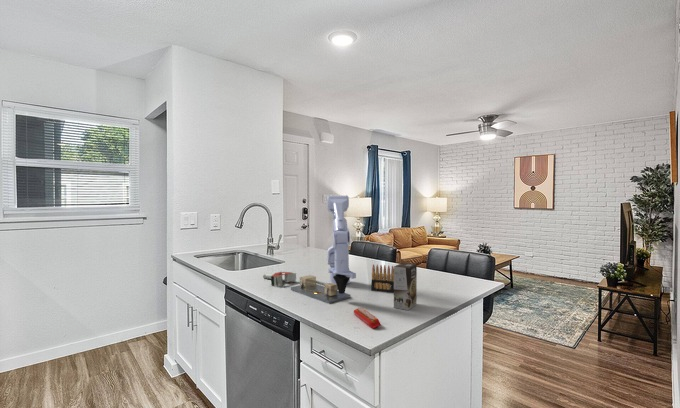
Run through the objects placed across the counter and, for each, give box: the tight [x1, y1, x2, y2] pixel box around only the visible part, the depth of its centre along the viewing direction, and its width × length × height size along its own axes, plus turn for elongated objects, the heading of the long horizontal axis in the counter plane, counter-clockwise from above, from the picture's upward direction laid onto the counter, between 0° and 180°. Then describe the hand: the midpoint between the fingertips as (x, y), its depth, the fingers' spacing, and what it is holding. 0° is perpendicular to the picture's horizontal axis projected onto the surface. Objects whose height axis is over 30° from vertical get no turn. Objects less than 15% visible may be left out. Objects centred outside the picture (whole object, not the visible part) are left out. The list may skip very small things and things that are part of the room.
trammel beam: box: [299, 274, 338, 291], centre depth 149 cm, size 7×24×4 cm, turn 42°
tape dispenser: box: [262, 271, 297, 288], centre depth 169 cm, size 18×5×20 cm
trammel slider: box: [324, 283, 338, 296], centre depth 142 cm, size 4×4×4 cm
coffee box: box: [393, 262, 418, 311], centre depth 131 cm, size 9×6×16 cm
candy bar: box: [353, 307, 382, 329], centre depth 116 cm, size 16×4×3 cm, turn 22°
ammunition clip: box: [370, 264, 394, 294], centre depth 151 cm, size 11×2×12 cm, turn 68°
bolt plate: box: [290, 283, 352, 304], centre depth 148 cm, size 12×27×1 cm, turn 42°
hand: (341, 293), depth 137 cm, fingers closed
